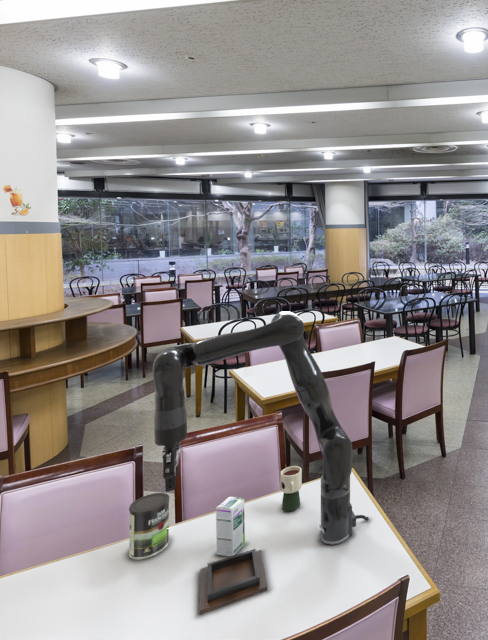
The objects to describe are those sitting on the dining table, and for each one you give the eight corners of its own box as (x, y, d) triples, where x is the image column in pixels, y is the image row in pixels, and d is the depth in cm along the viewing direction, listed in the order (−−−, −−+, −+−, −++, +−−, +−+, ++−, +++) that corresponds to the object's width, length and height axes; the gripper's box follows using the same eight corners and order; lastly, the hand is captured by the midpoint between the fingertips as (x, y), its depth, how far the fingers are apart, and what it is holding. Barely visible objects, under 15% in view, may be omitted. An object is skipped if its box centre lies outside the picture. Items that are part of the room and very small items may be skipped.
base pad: (260, 553, 130) (260, 543, 130) (267, 590, 116) (267, 579, 116) (200, 572, 123) (200, 561, 123) (199, 614, 108) (199, 602, 109)
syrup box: (232, 557, 128) (232, 508, 128) (215, 554, 129) (215, 506, 130) (245, 544, 134) (245, 497, 134) (228, 542, 135) (228, 495, 135)
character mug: (279, 501, 156) (280, 465, 156) (300, 497, 159) (300, 461, 159) (281, 519, 146) (281, 480, 146) (302, 514, 149) (302, 476, 149)
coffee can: (176, 540, 136) (177, 495, 136) (145, 563, 126) (145, 515, 126) (153, 533, 139) (153, 489, 139) (120, 555, 129) (120, 508, 129)
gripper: (184, 429, 113) (186, 491, 112) (188, 411, 125) (190, 467, 125) (150, 436, 109) (152, 500, 109) (158, 416, 122) (159, 474, 122)
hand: (172, 482), depth 117 cm, fingers open, 8 cm apart
